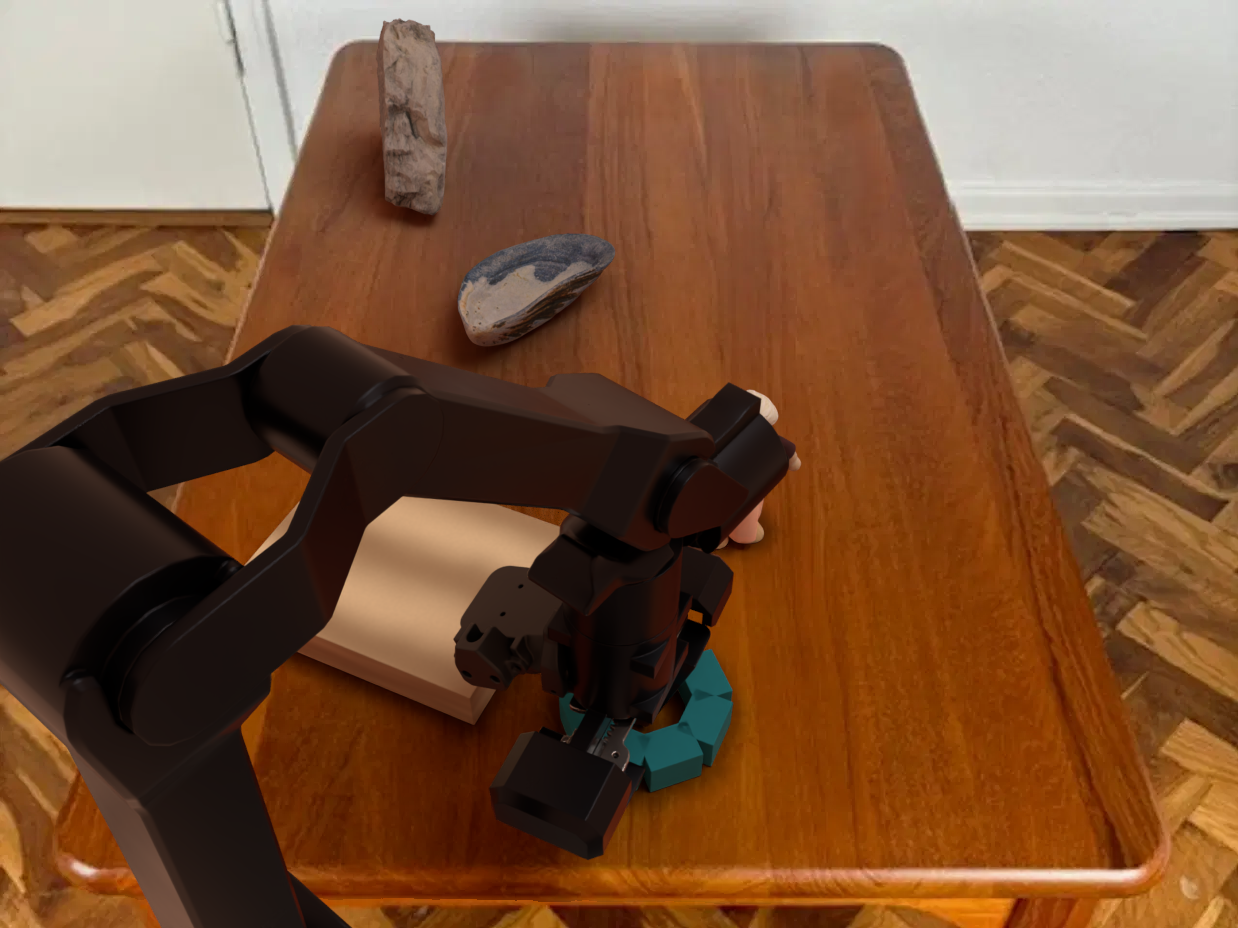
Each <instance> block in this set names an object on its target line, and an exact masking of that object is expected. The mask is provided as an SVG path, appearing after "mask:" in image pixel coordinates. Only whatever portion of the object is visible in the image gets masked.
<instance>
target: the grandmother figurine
mask: <svg viewBox="0 0 1238 928" xmlns="http://www.w3.org/2000/svg"><path fill="white" fill-rule="evenodd" d="M746 391H748V392H750V393H752V394H754V395H756V396H758V397H759V398H761V399H762V400H761V408H760V414H761V415H762V416H764V418H765V419H766V420H767V421H768V422H769V423H770V424H771V425H772V426H774V425H775V424H776V423H777V422H778V419H779V413H778V410H777V408H776V405H774V403H773V402H772V401H771V399H770V398H769V397H768V396H766V395H764V394H763V393H761V392H758V391H756V390H754V389H747V390H746ZM778 435H779V437H780V439H781V441H782V443H783V445H784V448H785V452H786V454H787V455H788V457H789V459H790V460H789V468H788V471H790V472H796V471H798V470H800V468H801V465H802V462H801V459H800V458H799V457H798V454H797V452H796V451H797V445H796V444H795V442H793V441H791V440H788V439H787V438H786V437H784V436H782V435H780V434H778ZM764 501H765V498H764V499H763V500H762V501H761V502H760V503H759V504H758V505H757V506H756V507H755V508H754V510H753V511H752V512H751V513H750V514H749V515H748V516H747V517H746V518H745V519H744V520H743V521H742V522H741V523H740V524H739V525H738V526H737V527H736V528H735V529H734V531H733V532H732V533H731V534H730V535H729V536H728V537H727V538H726V539H725V540H724V541H723V542H722V543H721V544H720V545H719V546H718V547H717V548H716V549H715V550H720V549H723V548H725V547H726V546H727V544H728V543H729V538H730V539H731V540H732V541H734V542H735V543H739V544H755V543H758V542H760V541H762V540H763V538H764V536H765V532H764V528H763V527H762V525H761V523H759V518H760V517H761V515H762V511H763V507H764V506H763V505H764Z"/></svg>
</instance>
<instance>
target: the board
mask: <svg viewBox="0 0 1238 928" xmlns="http://www.w3.org/2000/svg"><path fill="white" fill-rule="evenodd" d="M299 502H300V500H299V501H298V502H297V504H296V505H294V507H293V508H292V509H291V510H290V511H289V513H288V514H287V515H286V516H285V517H284V519H283V520H282V521H281V522H280V523H279V524H278V525H277V527H276V528H275V529H274V530H273V531H272V533H270V534H269V536H268V537H267V538H266V539H265V541H264V542H263V543H262V544H261V545H260V547H259V548H258V549H257V550H256V551H255V552H254V553H253V554H252V556H251V557H250V558H248V560H247V562H245V564H243V565H244V566H245V565H247V564H248V563H249V562H250V561H252V560H253V559H254V558H255V557H257V556H258V555H259V554H260V553H262V552H263V551H264V550H265V549H267V548H268V547H269V546H271V545H272V544H273V543H274V542H276V541H277V540H278V539H279V538H281V537H282V536H283V535H284V534H285V533H286V532H287V530H288V527H289V525H290V523H291V520H292V518H293V516H294V513H295V511H296V509H297V507H298V504H299ZM559 530H560V525H557V524H554V523H550V522H547V521H545V520H542V519H540V518H537V517H534V516H530V515H528V514H525V513H522V512H519V511H517V510H513V509H510V508H509V507H505V506H503V505H499V504H487V503H475V502H462V501H450V500H438V499H426V498H414V497H401V498H400V499H399V500H398V501H396V502H395V503H394V504H393V505H392V506H390V507H389V508H388V509H387V510H386V511H384V512H383V513H382V514H381V515H380V516H378V517H377V518H376V519H375V520H373V521H372V522H371V523H370V524H369V525H368V526H367V527H366V529H365V531H364V534H363V537H362V539H361V542H360V545H359V547H358V550H357V553H356V555H355V558H354V561H353V563H352V566H351V569H350V571H349V574H348V576H347V579H346V582H345V584H344V587H343V590H342V592H341V595H340V598H339V600H338V603H337V606H336V608H335V611H334V614H333V616H332V618H331V619H330V621H329V622H328V623H327V625H326V626H325V628H324V629H323V630H321V631H320V632H319V633H318V634H317V635H316V636H314V637H313V638H312V639H311V640H310V641H309V642H308V643H306V644H305V645H304V646H303V647H302V648H301V649H299V650H298V651H297V652H296V653H299V654H301V655H303V656H306V657H309V658H310V659H313V660H316V661H318V662H320V663H323V664H325V665H327V666H330V667H333V668H335V669H337V670H340V671H342V672H345V673H347V674H350V675H352V676H354V677H357V678H359V679H362V680H364V681H366V682H369V683H371V684H373V685H376V686H378V687H381V688H383V689H386V690H388V691H390V692H393V693H395V694H398V695H400V696H403V697H404V698H407V699H410V700H412V701H414V702H417V703H419V704H422V705H425V706H426V707H429V708H432V709H434V710H436V711H439V712H440V713H443V714H446V715H449V716H451V717H453V718H455V719H457V720H461V721H463V722H465V723H468V724H469V725H472V726H475V725H476V723H477V721H478V720H479V718H480V717H481V715H482V713H483V712H484V710H485V708H486V707H487V705H488V704H489V702H490V701H491V699H492V697H493V695H494V694H495V693H496V691H497V690H494V689H489V688H483V687H478V686H473V685H471V684H469V683H468V682H466V681H465V680H464V679H463V678H462V676H461V674H460V672H459V671H458V669H457V667H456V665H455V658H454V653H455V645H456V643H455V642H454V640H453V639H454V637H455V636H456V634H457V633H458V631H459V630H460V628H461V626H460V620H461V617H462V616H463V614H464V612H465V611H466V609H467V608H468V606H469V605H470V603H471V602H472V601H473V599H474V598H475V596H476V595H477V593H478V592H479V590H480V589H481V587H482V586H483V584H484V583H485V581H486V580H487V578H488V577H489V576H490V574H491V573H492V572H494V571H495V570H497V569H498V568H501V567H504V566H519V567H528V568H530V567H531V565H532V563H533V562H534V560H535V558H536V557H537V556H538V555H539V554H540V553H541V552H542V551H543V550H544V549H545V548H546V547H548V546H549V545H550V544H551V543H552V542H553V541H554V540H555V539H556V538H557V537H558V536H559Z"/></svg>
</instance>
